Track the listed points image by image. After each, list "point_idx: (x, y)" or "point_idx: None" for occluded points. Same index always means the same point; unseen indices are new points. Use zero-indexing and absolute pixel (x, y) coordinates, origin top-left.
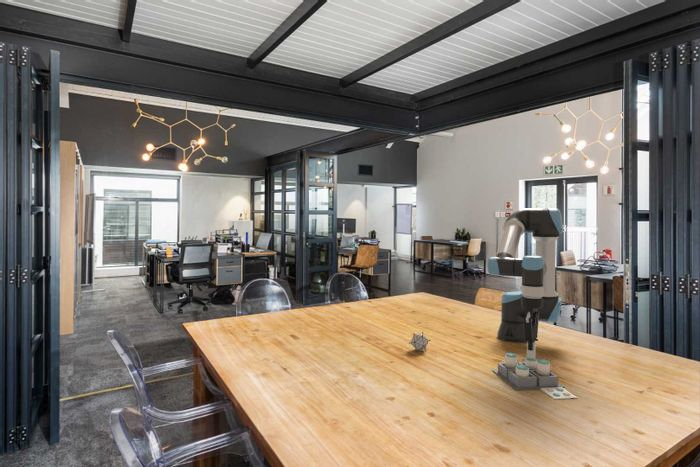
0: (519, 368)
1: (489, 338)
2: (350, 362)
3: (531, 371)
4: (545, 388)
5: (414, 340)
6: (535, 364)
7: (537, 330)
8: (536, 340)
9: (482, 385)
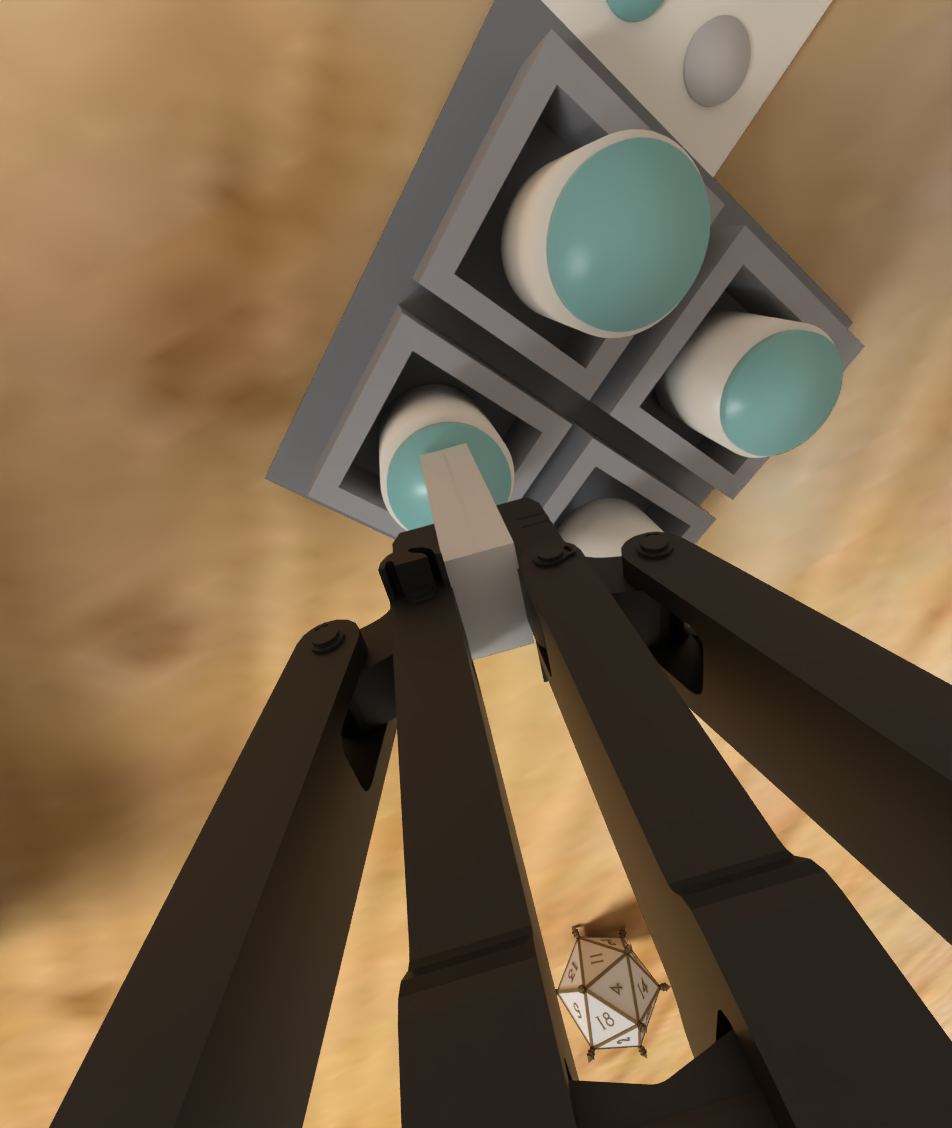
0: (836, 393)
1: (23, 976)
2: (896, 914)
3: (611, 359)
4: (691, 132)
5: (656, 999)
6: (464, 407)
7: (271, 745)
8: (440, 560)
9: (873, 515)
